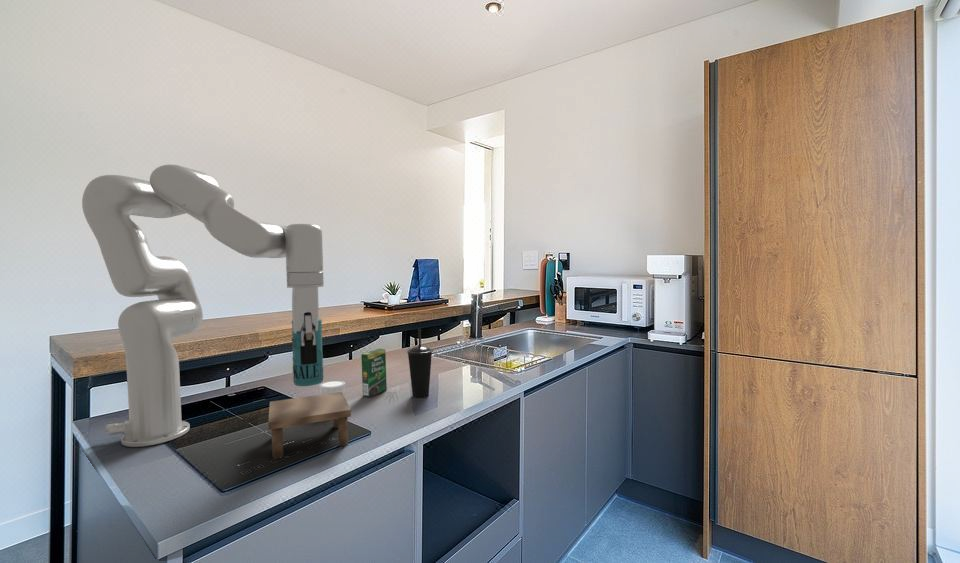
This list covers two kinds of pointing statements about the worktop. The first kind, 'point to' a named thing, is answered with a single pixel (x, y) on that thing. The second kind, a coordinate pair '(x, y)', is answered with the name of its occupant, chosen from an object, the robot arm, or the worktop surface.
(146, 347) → the robot arm
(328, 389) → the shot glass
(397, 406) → the worktop surface
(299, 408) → the walnut stool
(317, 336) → the beverage bottle
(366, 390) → the coffee box
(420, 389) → the drinking cup
